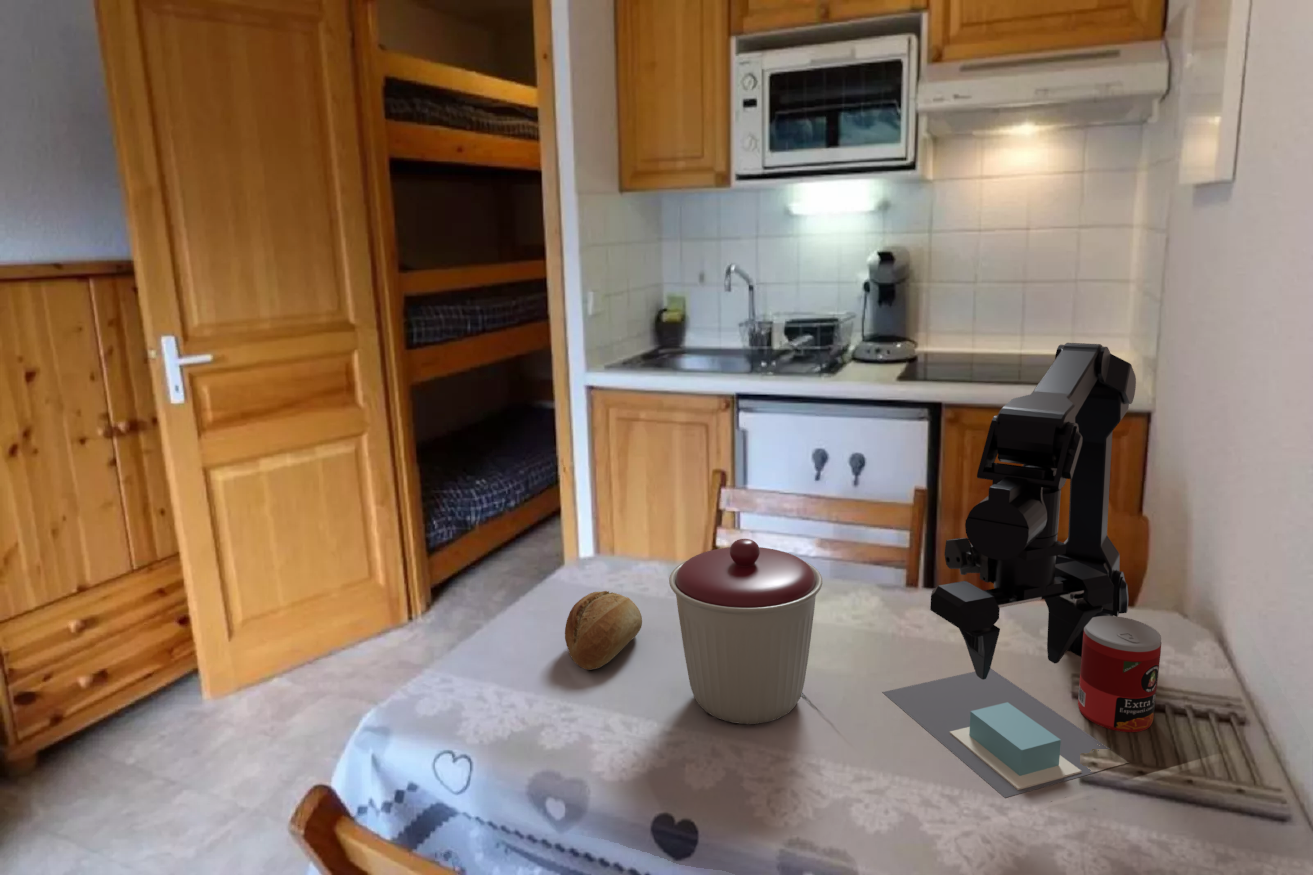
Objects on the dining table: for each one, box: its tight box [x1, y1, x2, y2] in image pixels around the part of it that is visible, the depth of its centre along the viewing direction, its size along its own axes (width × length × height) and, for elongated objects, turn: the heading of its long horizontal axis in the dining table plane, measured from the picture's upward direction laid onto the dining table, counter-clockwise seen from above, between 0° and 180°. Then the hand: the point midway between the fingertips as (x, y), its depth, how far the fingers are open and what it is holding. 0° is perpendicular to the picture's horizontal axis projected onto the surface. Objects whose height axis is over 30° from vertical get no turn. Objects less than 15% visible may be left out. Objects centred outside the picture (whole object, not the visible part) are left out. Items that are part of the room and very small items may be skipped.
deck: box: [969, 702, 1061, 776], centre depth 93 cm, size 8×5×3 cm, turn 19°
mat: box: [882, 667, 1123, 799], centre depth 99 cm, size 16×22×1 cm
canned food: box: [1077, 616, 1162, 733], centre depth 99 cm, size 8×8×11 cm
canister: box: [668, 538, 823, 725], centre depth 104 cm, size 18×18×21 cm
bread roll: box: [564, 590, 643, 671], centre depth 120 cm, size 10×15×8 cm, turn 161°
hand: (1017, 669), depth 91 cm, fingers open, 9 cm apart
